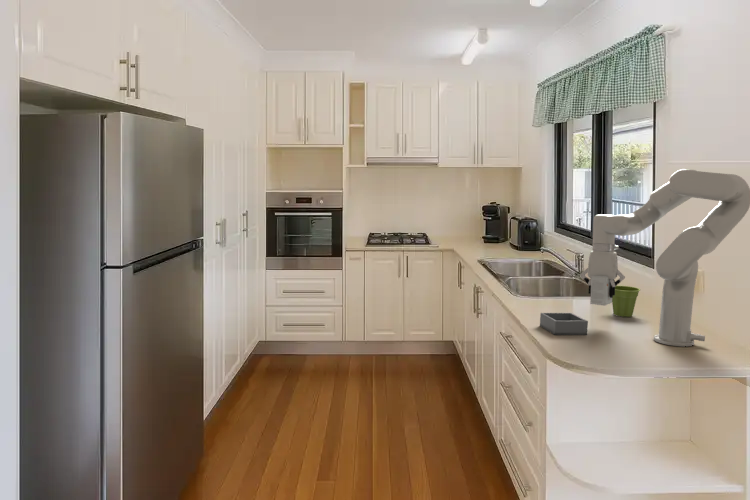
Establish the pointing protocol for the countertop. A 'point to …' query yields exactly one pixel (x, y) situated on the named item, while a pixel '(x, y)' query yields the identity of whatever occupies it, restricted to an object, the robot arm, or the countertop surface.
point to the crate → (563, 323)
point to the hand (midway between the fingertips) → (601, 296)
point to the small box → (600, 290)
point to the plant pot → (624, 300)
